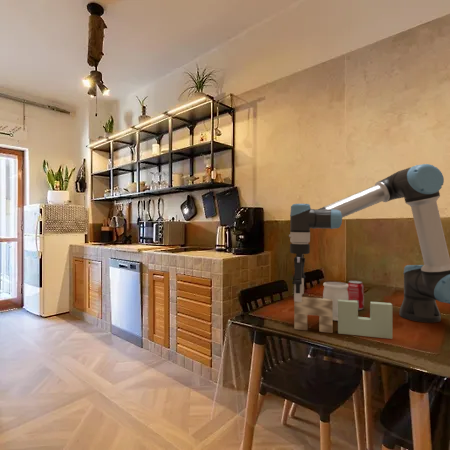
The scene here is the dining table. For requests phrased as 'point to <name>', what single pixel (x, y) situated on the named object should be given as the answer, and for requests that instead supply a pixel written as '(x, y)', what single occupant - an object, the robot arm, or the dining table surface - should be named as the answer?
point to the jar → (335, 294)
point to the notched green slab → (365, 319)
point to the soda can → (356, 293)
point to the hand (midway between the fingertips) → (299, 297)
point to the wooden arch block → (314, 313)
